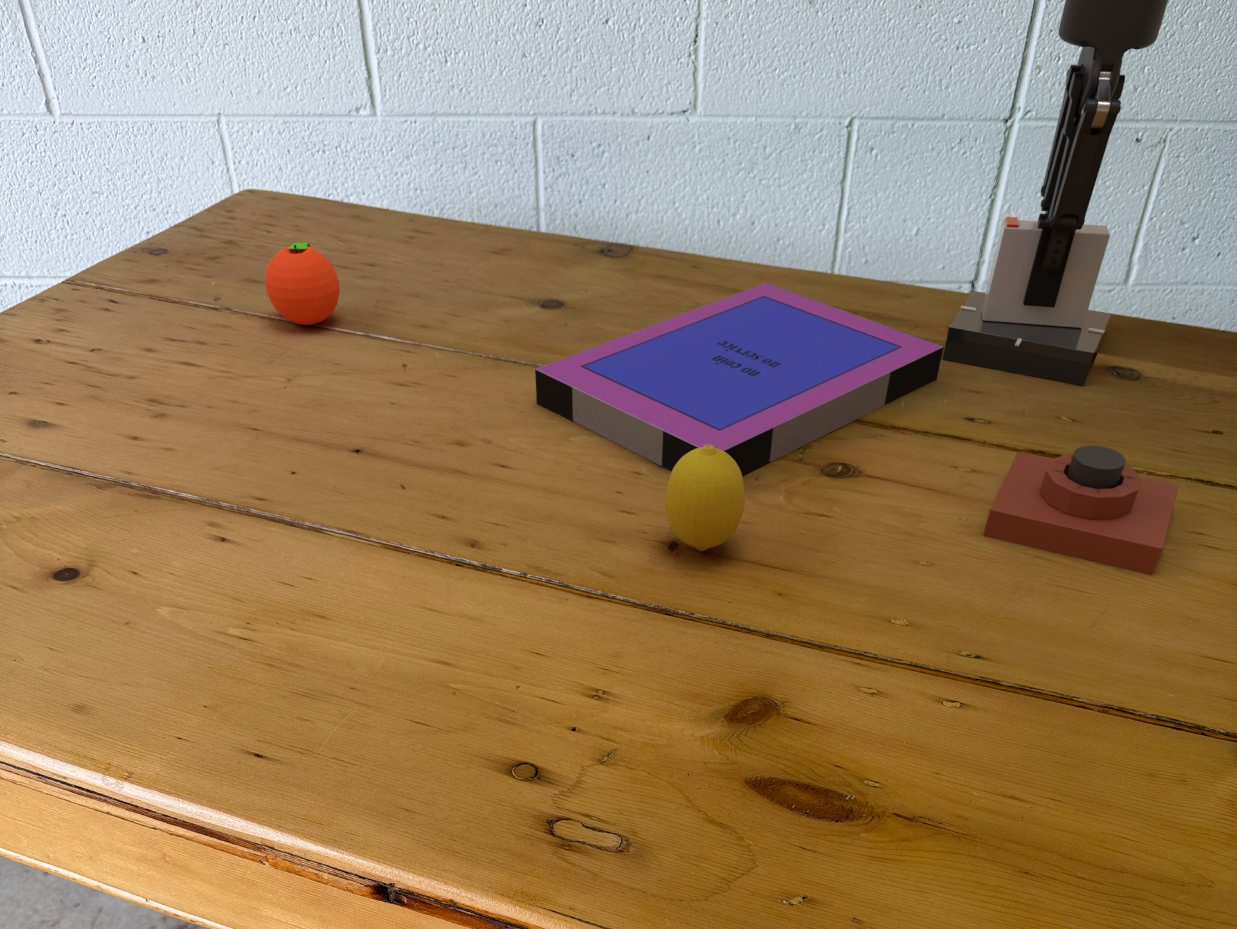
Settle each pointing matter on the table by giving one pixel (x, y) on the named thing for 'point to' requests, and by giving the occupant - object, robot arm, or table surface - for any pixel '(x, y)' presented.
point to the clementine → (302, 284)
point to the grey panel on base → (1016, 268)
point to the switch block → (1082, 514)
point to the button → (1096, 467)
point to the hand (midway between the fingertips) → (1037, 297)
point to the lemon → (705, 497)
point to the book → (738, 378)
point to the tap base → (1025, 344)
